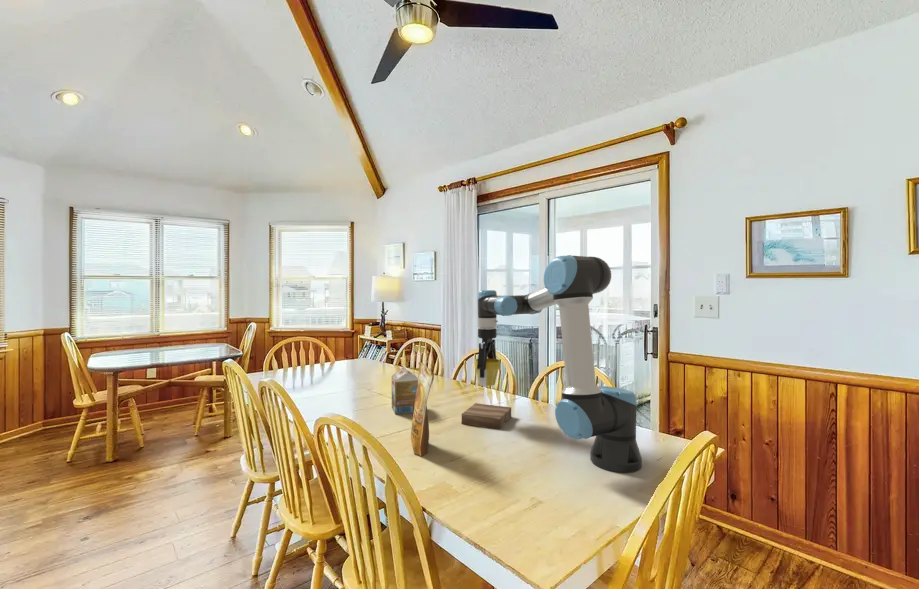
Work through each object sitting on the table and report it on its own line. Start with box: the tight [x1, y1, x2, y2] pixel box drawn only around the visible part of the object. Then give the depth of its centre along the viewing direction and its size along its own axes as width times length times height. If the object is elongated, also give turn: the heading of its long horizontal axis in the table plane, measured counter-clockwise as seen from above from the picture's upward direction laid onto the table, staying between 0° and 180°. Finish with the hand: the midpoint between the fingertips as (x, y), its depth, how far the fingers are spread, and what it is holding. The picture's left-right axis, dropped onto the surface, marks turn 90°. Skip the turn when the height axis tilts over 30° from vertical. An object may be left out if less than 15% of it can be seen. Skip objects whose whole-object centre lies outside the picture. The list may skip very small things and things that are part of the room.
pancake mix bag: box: [410, 361, 435, 457], centre depth 144 cm, size 7×19×28 cm, turn 11°
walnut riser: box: [461, 402, 512, 430], centre depth 172 cm, size 16×16×4 cm
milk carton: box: [391, 364, 418, 415], centre depth 186 cm, size 11×11×19 cm
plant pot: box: [474, 357, 501, 387], centre depth 171 cm, size 10×10×10 cm
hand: (487, 382), depth 172 cm, fingers closed on plant pot, 10 cm apart
